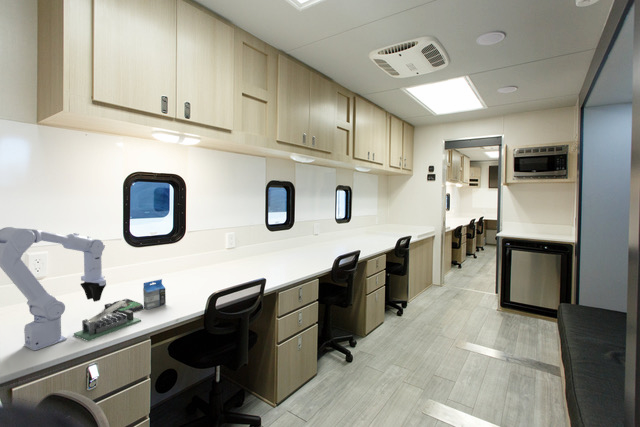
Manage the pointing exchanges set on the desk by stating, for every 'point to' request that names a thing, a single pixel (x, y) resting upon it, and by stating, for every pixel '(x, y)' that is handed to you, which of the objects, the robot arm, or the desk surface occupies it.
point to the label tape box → (154, 294)
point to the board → (130, 321)
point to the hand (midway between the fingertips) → (93, 299)
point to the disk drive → (130, 306)
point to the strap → (106, 312)
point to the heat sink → (104, 323)
